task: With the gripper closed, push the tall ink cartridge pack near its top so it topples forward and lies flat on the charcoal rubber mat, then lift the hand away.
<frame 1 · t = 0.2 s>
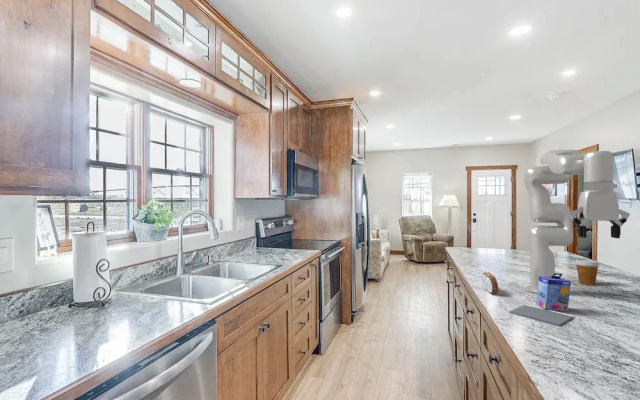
hand: (598, 237, 105), 31 cm above the worktop, tool pointing down, fingers open, 9 cm apart
ink cartridge box: (552, 308, 124), on the worktop, touching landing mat
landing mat: (541, 315, 117), on the worktop
disposable coffee cup: (587, 284, 161), on the worktop
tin: (489, 291, 149), on the worktop
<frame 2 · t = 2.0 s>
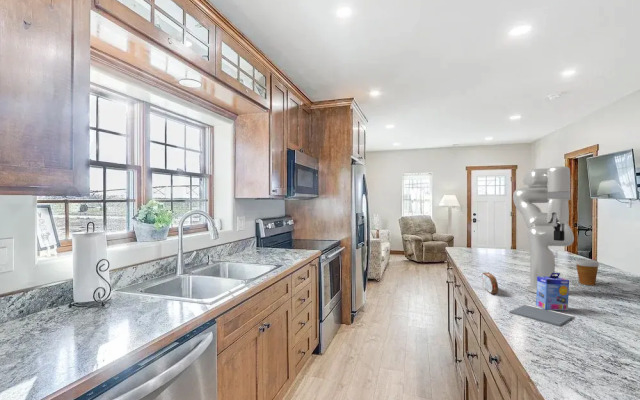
hand: (559, 240, 128), 27 cm above the worktop, tool pointing down, fingers closed
nothing on the worktop moved.
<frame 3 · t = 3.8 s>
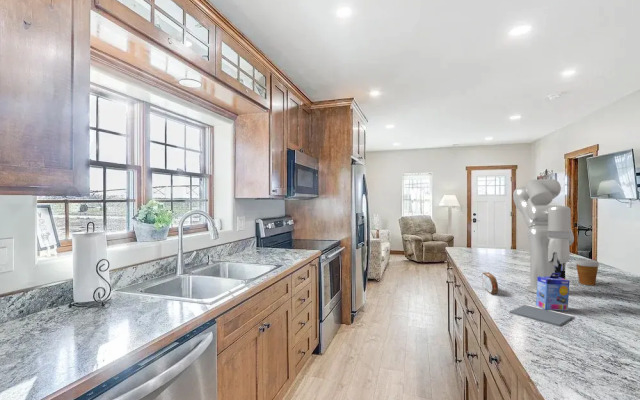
hand: (560, 279, 128), 11 cm above the worktop, tool pointing down, fingers closed
ink cartridge box: (552, 308, 124), on the worktop, touching gripper, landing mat
everything else where it was.
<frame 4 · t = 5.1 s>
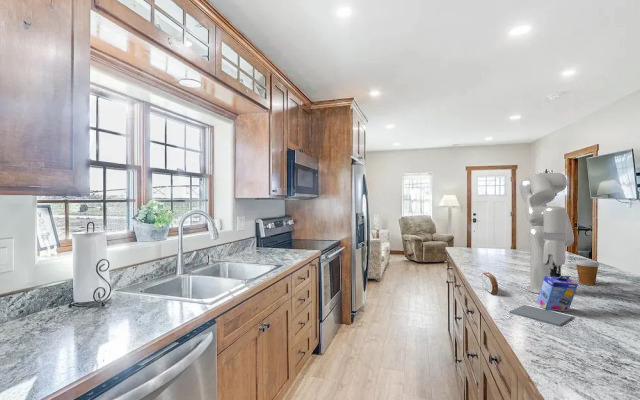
hand: (555, 282, 125), 10 cm above the worktop, tool pointing down, fingers closed
ink cartridge box: (552, 307, 123), point 1 cm above the worktop, touching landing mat
everything else where it was.
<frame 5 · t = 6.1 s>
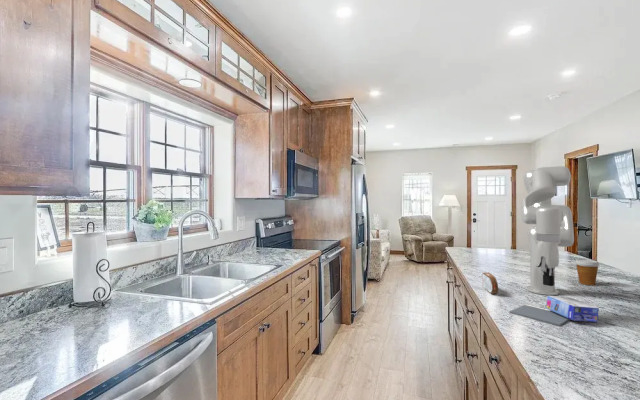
hand: (548, 285, 121), 10 cm above the worktop, tool pointing down, fingers closed
ink cartridge box: (557, 302, 121), point 3 cm above the worktop, touching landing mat
everything else where it was.
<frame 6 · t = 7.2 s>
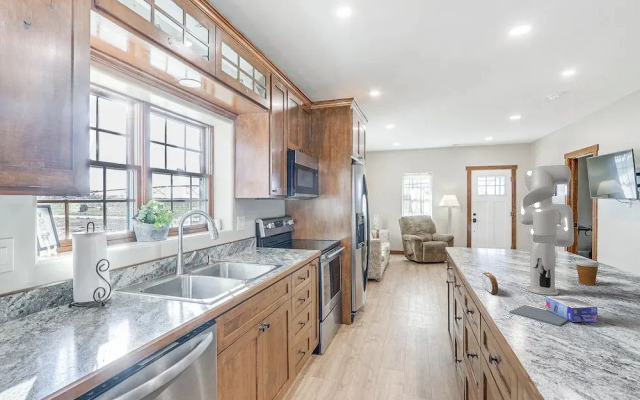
hand: (545, 286, 120), 10 cm above the worktop, tool pointing down, fingers closed
nothing on the worktop moved.
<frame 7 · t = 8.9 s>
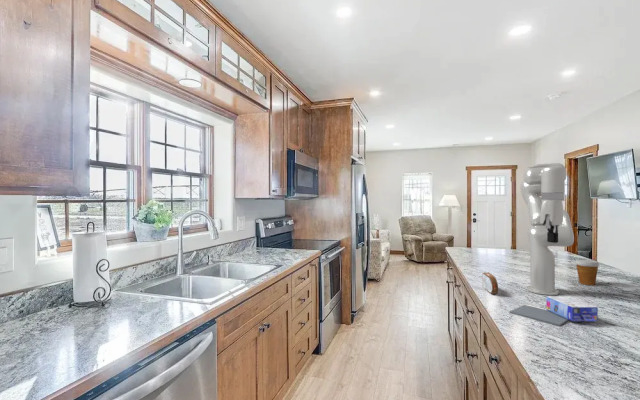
hand: (552, 242, 125), 27 cm above the worktop, tool pointing down, fingers closed
nothing on the worktop moved.
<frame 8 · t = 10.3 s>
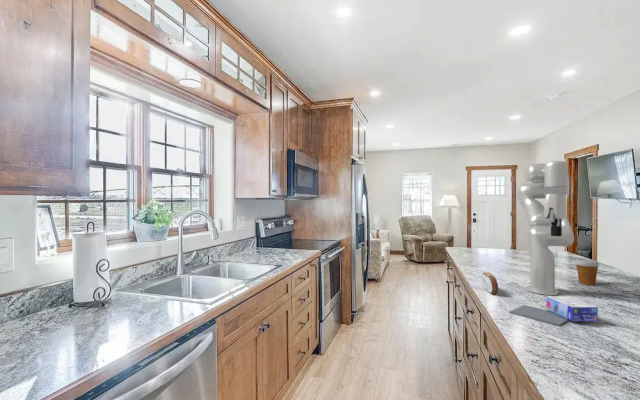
hand: (556, 235, 127), 29 cm above the worktop, tool pointing down, fingers closed
nothing on the worktop moved.
at the end: ink cartridge box tilted 89°; ink cartridge box touching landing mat; ink cartridge box inside the target area (5.7 cm from its centre), point 3.2 cm above the worktop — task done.
